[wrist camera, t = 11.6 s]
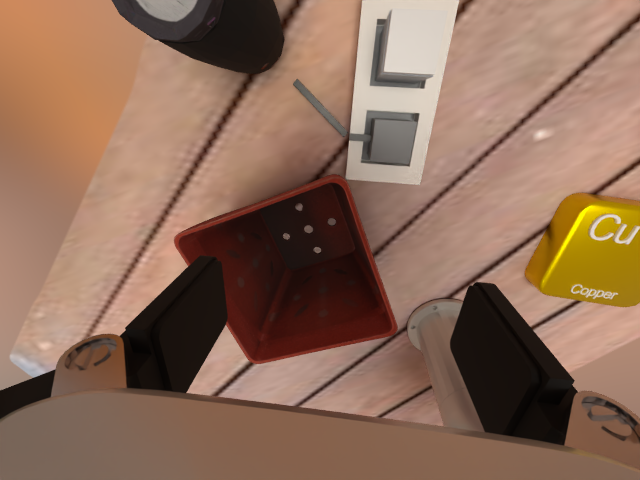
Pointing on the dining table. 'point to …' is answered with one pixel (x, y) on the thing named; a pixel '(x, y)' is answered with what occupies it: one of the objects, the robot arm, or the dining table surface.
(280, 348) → the plant pot
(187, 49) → the portable speaker
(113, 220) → the dining table surface
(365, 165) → the power strip
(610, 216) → the element tile
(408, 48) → the plug
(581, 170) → the dining table surface
